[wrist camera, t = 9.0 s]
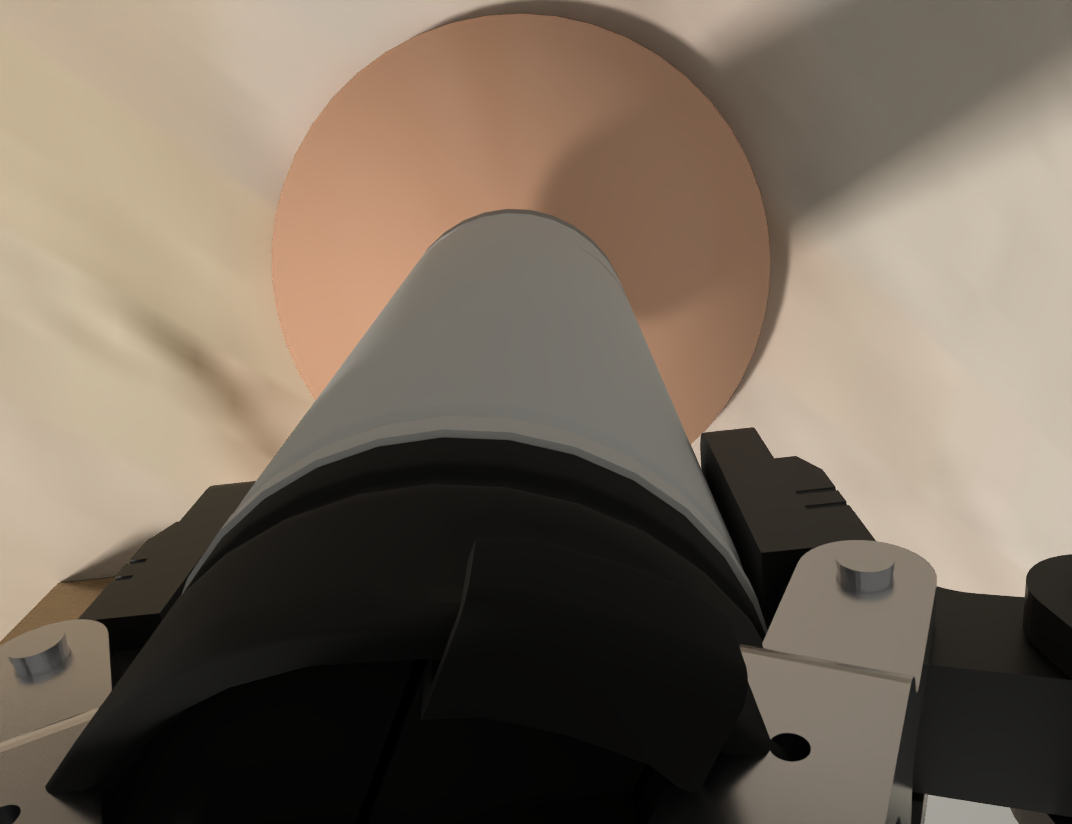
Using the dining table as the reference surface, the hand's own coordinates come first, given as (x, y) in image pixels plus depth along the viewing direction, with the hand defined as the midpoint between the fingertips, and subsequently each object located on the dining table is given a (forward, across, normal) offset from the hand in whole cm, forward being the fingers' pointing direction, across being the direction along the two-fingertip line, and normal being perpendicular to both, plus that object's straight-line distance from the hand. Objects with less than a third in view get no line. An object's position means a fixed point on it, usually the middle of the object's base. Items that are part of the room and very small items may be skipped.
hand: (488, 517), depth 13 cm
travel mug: (+13, 0, 0) cm, 13 cm away
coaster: (+17, 0, 0) cm, 17 cm away
